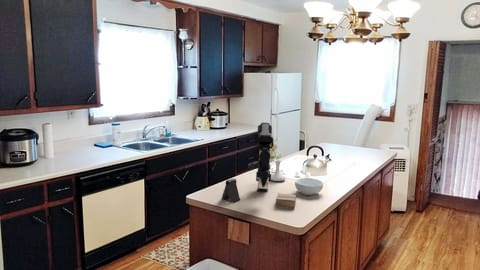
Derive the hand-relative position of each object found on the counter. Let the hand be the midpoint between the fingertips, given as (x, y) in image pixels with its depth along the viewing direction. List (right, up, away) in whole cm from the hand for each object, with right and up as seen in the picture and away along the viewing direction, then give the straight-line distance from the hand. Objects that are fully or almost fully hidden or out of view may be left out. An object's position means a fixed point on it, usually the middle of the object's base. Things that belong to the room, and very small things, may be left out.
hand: (263, 185), depth 204 cm
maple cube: (0, -1, 0) cm, 1 cm away
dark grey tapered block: (-18, -10, +8) cm, 22 cm away
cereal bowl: (+29, -8, +24) cm, 39 cm away
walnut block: (+12, -11, +2) cm, 17 cm away
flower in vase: (+12, -3, +50) cm, 51 cm away
